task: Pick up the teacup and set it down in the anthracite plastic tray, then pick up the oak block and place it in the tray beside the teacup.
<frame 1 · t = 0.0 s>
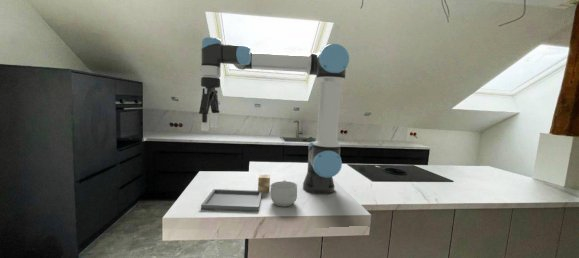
hand: (209, 129, 109), 28 cm above the counter, fingers open, 13 cm apart
teacup: (283, 203, 107), on the counter
oak block: (263, 191, 119), on the counter
tray: (234, 201, 105), on the counter
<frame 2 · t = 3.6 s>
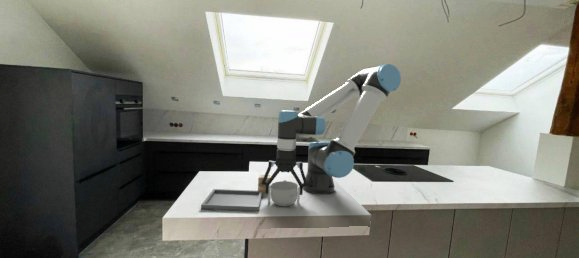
hand: (283, 201, 107), 0 cm above the counter, fingers open, 11 cm apart
teacup: (284, 202, 107), on the counter, touching gripper
everything else where it was.
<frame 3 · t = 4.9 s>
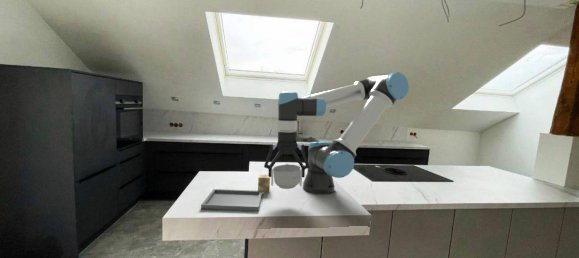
hand: (286, 184, 106), 7 cm above the counter, fingers closed on teacup, 11 cm apart
teacup: (287, 185, 107), point 7 cm above the counter, touching gripper
everything else where it was.
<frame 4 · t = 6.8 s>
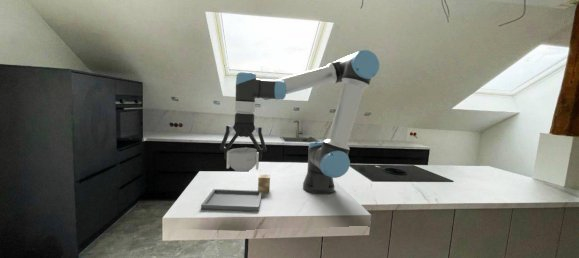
hand: (242, 168, 104), 14 cm above the counter, fingers closed on teacup, 11 cm apart
teacup: (243, 169, 104), point 13 cm above the counter, touching gripper
everything else where it was.
when the fingers open (3 cm above the counter, at t = 9.2 s): teacup drops 2 cm, resting on tray.
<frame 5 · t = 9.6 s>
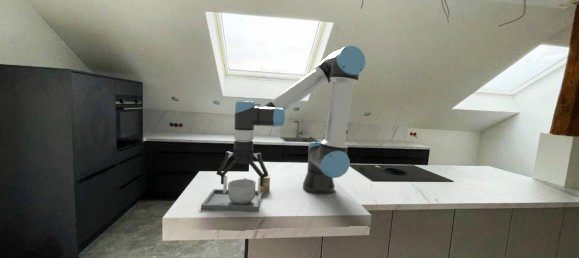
hand: (242, 192, 105), 4 cm above the counter, fingers open, 13 cm apart
teacup: (242, 201, 105), resting on tray
everything else where it was.
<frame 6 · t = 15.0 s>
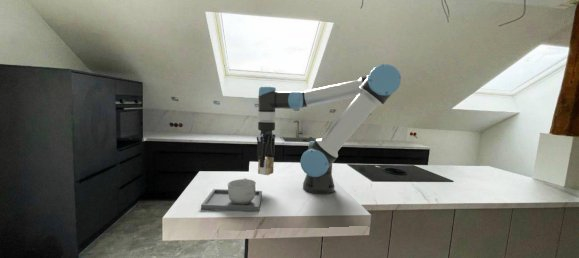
hand: (265, 172, 118), 9 cm above the counter, fingers closed on oak block, 5 cm apart
oak block: (265, 173, 119), point 8 cm above the counter, touching gripper
everything else where it was.
when the fingers open (2 cm above the counter, at t = 19.5 s): oak block stays where it is, resting on tray.
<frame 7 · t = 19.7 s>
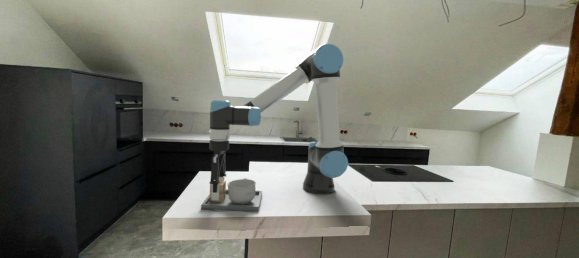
hand: (218, 195, 105), 2 cm above the counter, fingers open, 8 cm apart
oak block: (217, 199, 105), resting on tray
everything else where it was.
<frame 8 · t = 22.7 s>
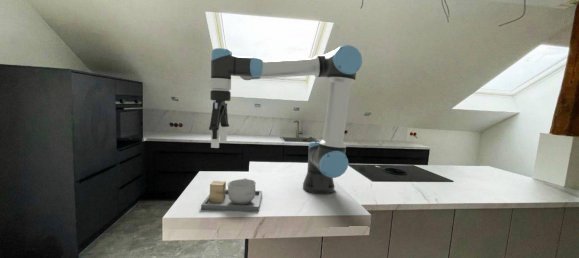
hand: (219, 144, 103), 23 cm above the counter, fingers open, 13 cm apart
nothing on the counter moved.
at the end: teacup inside the target area on the tray (3.4 cm from its centre), point 0.3 cm above the tray's base; teacup tilted 0°; oak block inside the target area on the tray (6.6 cm from its centre), point 0.5 cm above the tray's base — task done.
